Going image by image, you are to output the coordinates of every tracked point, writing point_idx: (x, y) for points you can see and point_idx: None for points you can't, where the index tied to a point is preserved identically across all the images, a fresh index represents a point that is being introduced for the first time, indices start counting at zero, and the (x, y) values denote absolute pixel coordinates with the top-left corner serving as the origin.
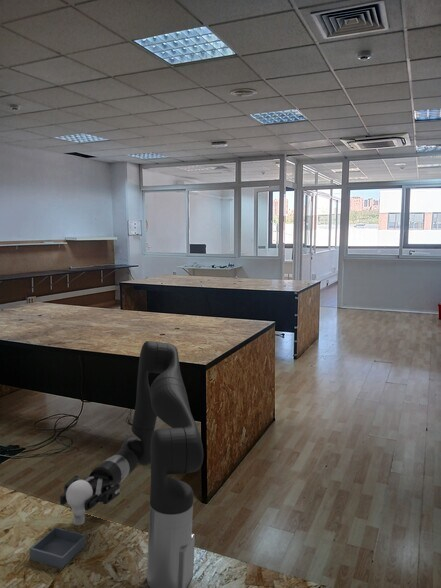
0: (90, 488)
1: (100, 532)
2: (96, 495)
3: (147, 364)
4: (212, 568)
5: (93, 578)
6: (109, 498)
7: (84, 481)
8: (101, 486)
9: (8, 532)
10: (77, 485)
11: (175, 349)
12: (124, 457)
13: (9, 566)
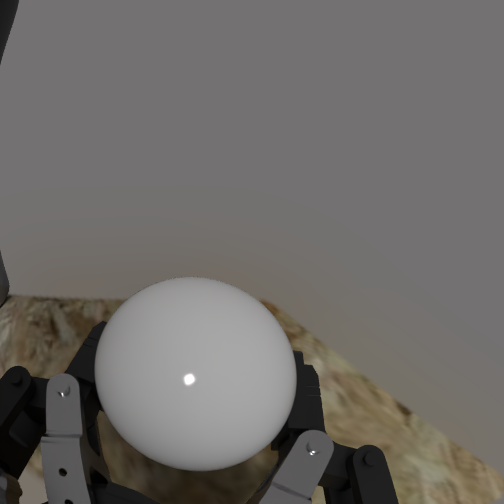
0: (101, 335)
1: (111, 473)
2: (72, 378)
3: None
4: None
5: (96, 306)
6: (19, 433)
7: (158, 321)
8: (45, 465)
9: (395, 405)
10: (199, 277)
11: None
12: None
13: (292, 325)
